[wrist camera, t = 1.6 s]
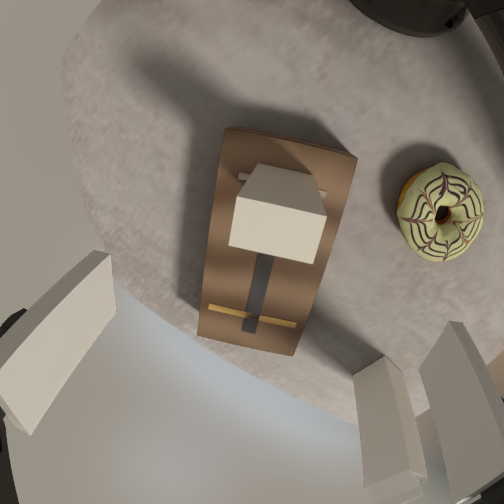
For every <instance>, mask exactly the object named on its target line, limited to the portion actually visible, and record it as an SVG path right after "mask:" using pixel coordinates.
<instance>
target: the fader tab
mask: <svg viewBox="0 0 504 504" xmlns="http://www.w3.org/2000/svg"><path fill="white" fill-rule="evenodd" d="M326 218H327V215H326V212H325V209H324V205H323V202H322V199H321V196H320V193H319V190H318V187H317V183H316V180H315V177H314V176H313V175H309V174H305V173H301V172H297V171H292V170H288V169H283V168H279V167H274V166H270V165H265V164H260V163H258V164H257V166H256V167H255V169H254V170H253V172H252V174H251V175H250V177H249V178H248V180H247V181H246V183H245V184H244V186H243V187H242V189H241V191H240V192H239V194H238V195H237V198H236V204H235V210H234V215H233V221H232V227H231V233H230V239H229V245H228V246H233V247H237V248H242V249H246V250H251V251H255V252H260V253H264V254H269V255H273V256H278V257H282V258H287V259H291V260H296V261H300V262H305V263H309V264H313V262H314V259H315V255H316V252H317V249H318V246H319V242H320V239H321V236H322V232H323V229H324V225H325V222H326Z"/></svg>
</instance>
